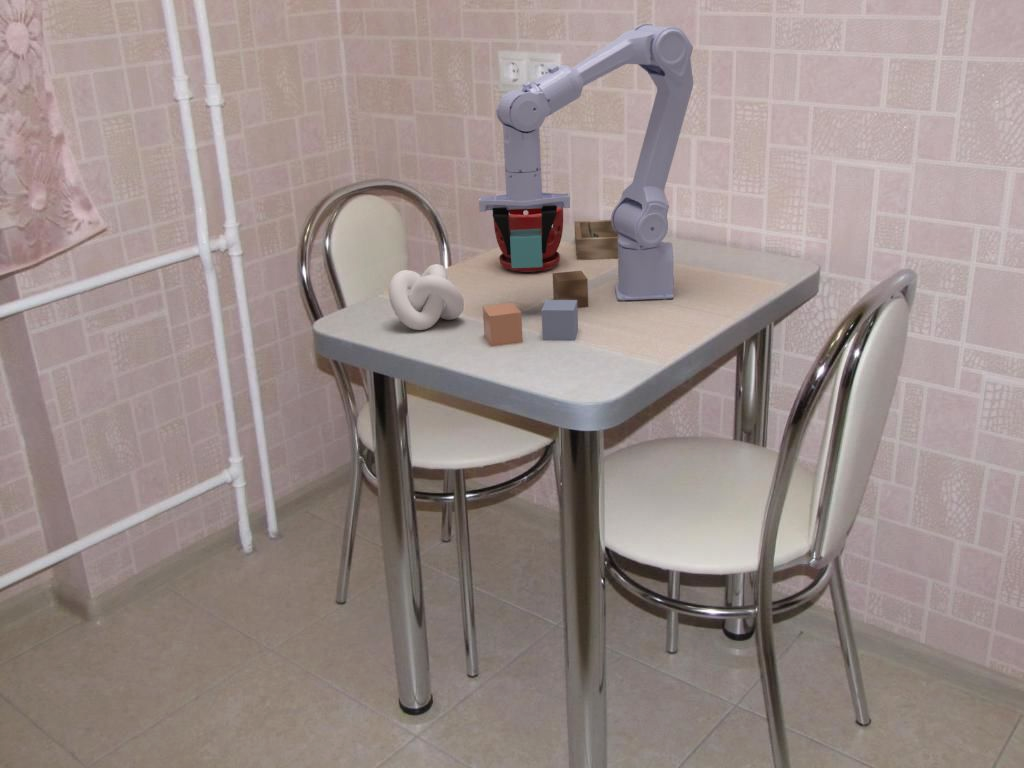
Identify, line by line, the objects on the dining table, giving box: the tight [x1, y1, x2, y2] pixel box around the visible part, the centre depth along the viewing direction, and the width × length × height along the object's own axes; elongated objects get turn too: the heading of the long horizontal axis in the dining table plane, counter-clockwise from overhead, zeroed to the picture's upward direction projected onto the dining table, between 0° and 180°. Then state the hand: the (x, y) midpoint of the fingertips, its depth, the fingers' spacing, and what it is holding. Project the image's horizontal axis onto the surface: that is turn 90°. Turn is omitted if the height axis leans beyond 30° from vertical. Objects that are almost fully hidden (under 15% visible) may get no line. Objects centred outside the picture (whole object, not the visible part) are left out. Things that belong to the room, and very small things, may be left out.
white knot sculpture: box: [388, 263, 465, 331], centre depth 173 cm, size 11×12×9 cm
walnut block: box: [552, 270, 589, 309], centre depth 180 cm, size 5×5×5 cm
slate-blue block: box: [540, 299, 579, 341], centre depth 166 cm, size 5×5×5 cm
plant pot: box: [492, 207, 564, 273], centre depth 200 cm, size 13×13×12 cm
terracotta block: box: [482, 302, 524, 347], centre depth 165 cm, size 5×5×5 cm
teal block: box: [510, 229, 542, 268], centre depth 173 cm, size 5×5×5 cm
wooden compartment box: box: [574, 219, 618, 260], centre depth 210 cm, size 14×14×4 cm
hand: (526, 252), depth 173 cm, fingers closed on teal block, 5 cm apart
